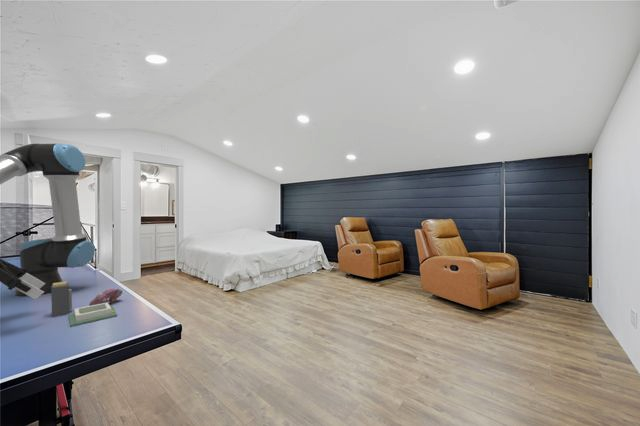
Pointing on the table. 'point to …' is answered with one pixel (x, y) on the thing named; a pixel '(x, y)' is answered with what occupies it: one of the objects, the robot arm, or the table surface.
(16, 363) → the table surface
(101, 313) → the green square tray
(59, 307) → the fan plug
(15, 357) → the table surface
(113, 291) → the video game controller
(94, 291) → the table surface
